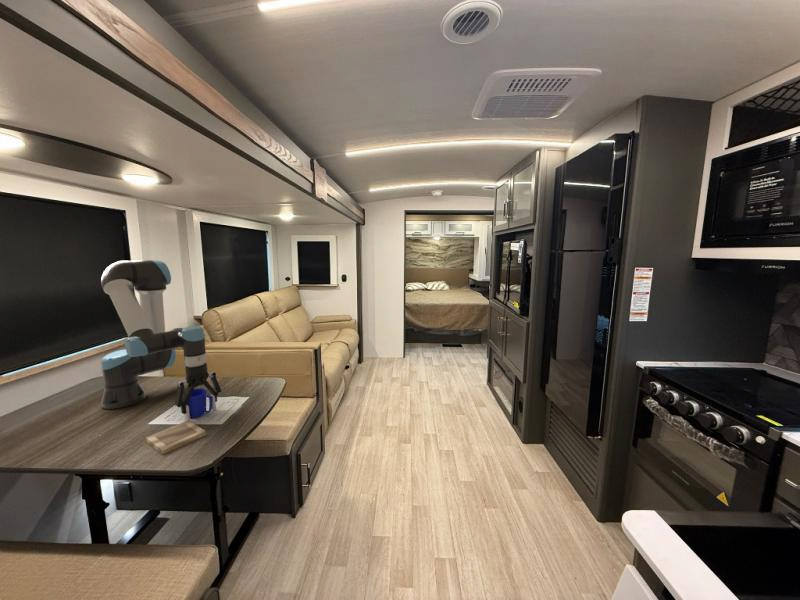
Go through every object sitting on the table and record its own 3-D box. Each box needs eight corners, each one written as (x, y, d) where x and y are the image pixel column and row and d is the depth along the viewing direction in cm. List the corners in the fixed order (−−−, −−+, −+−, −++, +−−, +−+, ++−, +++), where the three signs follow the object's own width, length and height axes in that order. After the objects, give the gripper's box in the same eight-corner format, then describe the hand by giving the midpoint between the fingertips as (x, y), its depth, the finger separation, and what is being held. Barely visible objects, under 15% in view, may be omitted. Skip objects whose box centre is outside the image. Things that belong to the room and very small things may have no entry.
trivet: (146, 441, 113) (145, 437, 113) (188, 423, 124) (188, 420, 124) (162, 454, 105) (162, 450, 105) (206, 434, 117) (205, 430, 117)
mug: (205, 422, 126) (203, 398, 124) (180, 418, 128) (177, 396, 127) (220, 412, 134) (218, 390, 132) (196, 409, 136) (194, 387, 135)
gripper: (168, 374, 116) (174, 429, 120) (228, 358, 135) (231, 406, 138) (160, 370, 121) (166, 424, 124) (218, 355, 139) (222, 402, 142)
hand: (200, 414), depth 131 cm, fingers open, 10 cm apart
